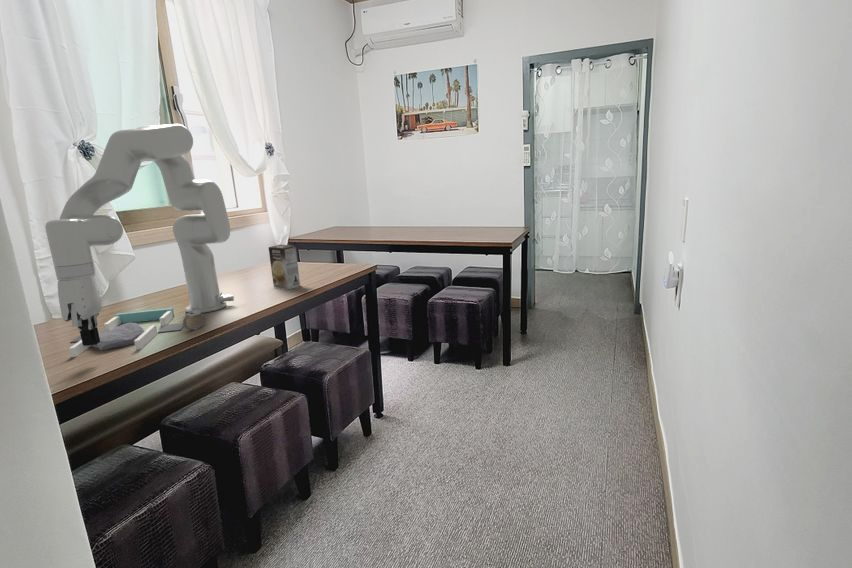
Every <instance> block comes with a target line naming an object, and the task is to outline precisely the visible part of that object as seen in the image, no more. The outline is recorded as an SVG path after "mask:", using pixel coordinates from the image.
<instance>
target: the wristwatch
mask: <svg viewBox="0 0 852 568" xmlns="http://www.w3.org/2000/svg"><path fill="white" fill-rule="evenodd" d="M198 315H199V316H200V317H201V322H200V323H199V324H198V326H196V327H193V328H190V327H189V326H188V324H186V322H187V320H188V319H189V318H192V317H195V316H198ZM205 322H206V318H205V315H204V314H203V313H200V312H198V311H194V312H190V313H189V312H186V313H185V314H184V317H183V320H182V323H183V326H184V327H183V328H185V329H187V330H190V331H195V330H199V329H200V328H202V327H203V326H204V324H205Z"/></svg>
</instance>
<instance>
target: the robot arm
mask: <svg viewBox="0 0 852 568" xmlns="http://www.w3.org/2000/svg"><path fill="white" fill-rule="evenodd" d="M193 146H194V138H193V134H192V133H191V131H190V130H189V129H188V128H187V127H186V125H185V126H184V125H183V124H180V123H171V124H170V123H169V124H158V125H157V124H154V125H153V124H152V125H144V126H139V127H136V128H131V129H122V130H118V131H115V132H112V134H111V135H110V137H109V138H108V140H107V143H106V145H105V148H104V151H103V154H102V155H101V159H100V161H99V164H98V166H97V169H96V170H95V173H94V175H93V176H92V177H90V179H88V180H87V181H86V182H85V183H83V184H82V185H81V186H80V187H79V188H78V189H77V190H76V191H75V192H74V193H73V194H72V195H70V197H69V198H68V200H67V201H66V202H65V205H64V207H63V209H62V211H61V214H60V217H59V219H52V220H48V221H47V222H46V224H45V225H44V227H45V228H44V229H45V233H46V236H47V243H48V246H49V250H50V254H51V258H52V263H53V267H54V272H55V276H56V280H57V292H58V293H57V295H58V302H59V309H60V314H61V318H62V320H63V322H66V323H67V322H70V321H71V326H72V327H73V328H77V330H78V332H79V336H80V335H81V339H82V344H83V346H88V345H96V344H98V343H99V342H100V338H99V333H98V332H99V329H98V325H99V324H98V316H99V315H100V312H101V311H102V310H103V304H102V302H103V301H102V296H101V293H100V289H99V287H98V286H99V285H98V283H97V280H96V277H95V276H96V275H97V273H96V268H95V264H94V259H93V255H92V251H91V247H93V246H95V247H96V246H97V247H99V246H101V247H102V246H109V245H110V246H111V245H113V244H115V243H117V242H119V241H120V240H121V238H122V237H123V234H124V227H123V225H122V223H121V222H120V221H119V220H118V219H117V218H115V217H114V216H110V215H105V214H104V215H103V214H100V215H99V214H96V212H97V211H99V210H100V208H102V207H104V206H105V205H106V204H108V203H110V202H112V201H113V200H116V199H118V198H120V197H122V196H124V195H126V194H128V193H129V192H130V191H132V189H133V187H134V184H135V181H136V178H137V176H138V172H139V169H140V166H141V164H142V163H143V162H154V164H156V166H157V167H158V168H159V171H160V174H161V176H162V180H163V183H164V187H165V189H166V194H167V197H168V201H169V202H170V204H171V207H172V208H173V209H174V210H176V211H179V212H201V211H202V212H203V214H202V213H198V214H185V215H181V216H179V217H177V218H176V219H175V220H174V221H173V224H172V232H173V236H174V239H175V241H176V243H177V246H178V248H179V249H178V250H179V252H180V253H179V254H180V257H181V261H182V267H183V273H184V278H185V283H186V290H187V294H188V301H189V304H188V305H187V306H186V307H185V311H186V313H190V312H194V311H198V312H200V313H202V314H203V313H210V312H214V311H218V310H221V309H223V308H225V307H226V306H227V302H234V301H235V296H234V295H232V294H226V295H224V294H223V291H220V288H219V287H220V286H219V281H218V275H217V268H216V264H215V263H216V262H215V257H214V254H213V252H212V250H211V248H210V247H209V246H208V244H209V245H210V244H223V243H225V242H227V240H228V239H229V238H230V236H231V225H230V220H229V217H228V211H227V207H226V204H225V200H224V196H223V193H222V190H221V189H220V187H219V185H217V184H216V182H214V181H212V180H209V179H195V176H194V174H193V171H192V168H191V165H190V163H189V160H188V159H187V158H186V157H185V155H187V154H188V153H189V152H190V151H192V149H193Z"/></svg>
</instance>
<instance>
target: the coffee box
mask: <svg viewBox="0 0 852 568" xmlns="http://www.w3.org/2000/svg"><path fill="white" fill-rule="evenodd" d="M297 253H298V252H297V247H296V245H289V244H288V245H287V244H277V245H273V246H269V247H268V254H269V260H270V261H269V262H270V269H271V274H272V275H271V276H272V277H271V278H272V284H273V288H278V289H284V290H290V289H294V288H297V287H300V286H301V280H300V274H299V273H300V271H299V264H298V263H299V261H298V256H297Z"/></svg>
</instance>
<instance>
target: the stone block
mask: <svg viewBox="0 0 852 568" xmlns="http://www.w3.org/2000/svg"><path fill="white" fill-rule="evenodd" d="M100 332H101V333H100ZM143 332H145V329H144V328H143V327H141V326H140V325H139V324H138V323H137V322H131V323H122V324H120V325H118V326H117V327H115V328H113V329H112V330H110V331H107V332H103V331H98V333H99V338H100V342H99V343H98V344H96V345H91V346H90V347H93V348H95V349H99V351H105V350H110V349H115V348H119V347H123V346H125V347H126V346H129V345H132V344H133V345H134V344H135V343H134V340H136V339H137V338H138V337H139V336H140V335H141V334H142V333H143Z"/></svg>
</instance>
